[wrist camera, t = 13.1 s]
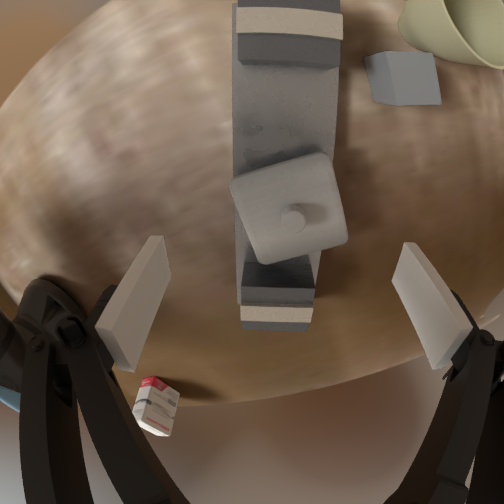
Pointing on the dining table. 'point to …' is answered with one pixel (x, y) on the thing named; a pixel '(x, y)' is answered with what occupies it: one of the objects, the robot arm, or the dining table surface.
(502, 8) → the mug
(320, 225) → the grey cover with knob
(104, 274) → the dining table surface
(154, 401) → the ink box
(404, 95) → the block
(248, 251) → the rail
